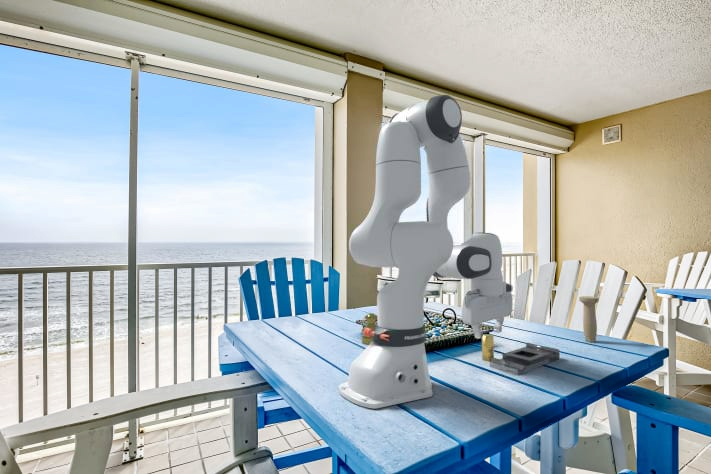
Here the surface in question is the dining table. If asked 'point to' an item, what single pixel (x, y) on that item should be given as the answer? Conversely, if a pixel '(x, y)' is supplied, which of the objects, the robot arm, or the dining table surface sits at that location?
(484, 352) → the brass pin
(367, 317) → the olive green upright figure
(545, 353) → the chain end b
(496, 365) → the gray stepped fixture plate
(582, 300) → the handle
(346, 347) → the dining table surface
